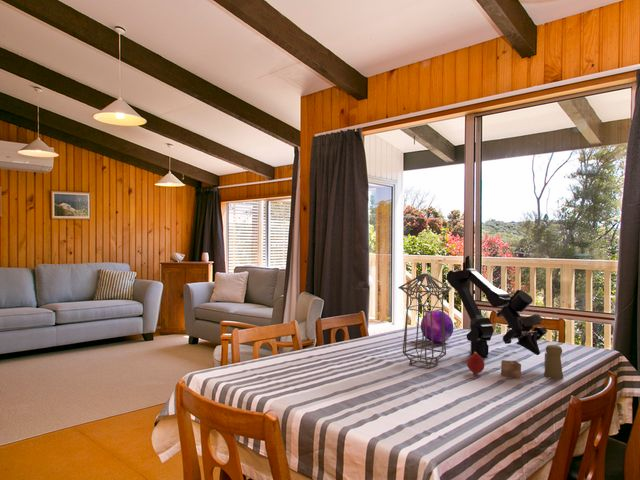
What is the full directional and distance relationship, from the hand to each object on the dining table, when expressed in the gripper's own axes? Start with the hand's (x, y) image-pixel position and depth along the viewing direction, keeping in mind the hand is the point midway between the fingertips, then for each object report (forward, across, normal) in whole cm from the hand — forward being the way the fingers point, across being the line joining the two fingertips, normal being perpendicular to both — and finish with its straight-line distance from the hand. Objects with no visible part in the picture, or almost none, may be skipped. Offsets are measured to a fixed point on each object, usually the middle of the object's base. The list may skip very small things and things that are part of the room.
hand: (538, 354), depth 170 cm
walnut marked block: (+4, -14, +5) cm, 15 cm away
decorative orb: (-34, +2, +44) cm, 56 cm away
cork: (+9, +1, +1) cm, 9 cm away
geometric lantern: (-12, -33, +22) cm, 42 cm away
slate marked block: (+1, +14, +8) cm, 17 cm away
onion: (-1, -24, +10) cm, 26 cm away
